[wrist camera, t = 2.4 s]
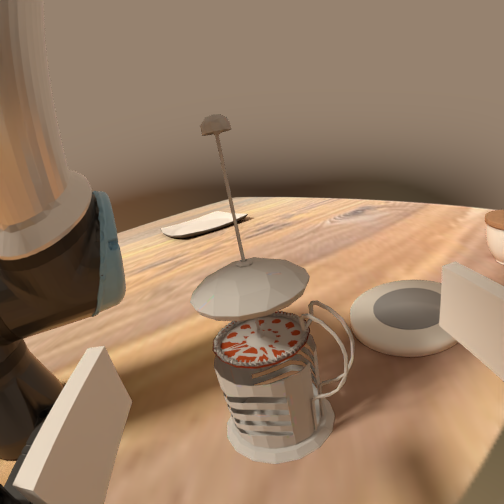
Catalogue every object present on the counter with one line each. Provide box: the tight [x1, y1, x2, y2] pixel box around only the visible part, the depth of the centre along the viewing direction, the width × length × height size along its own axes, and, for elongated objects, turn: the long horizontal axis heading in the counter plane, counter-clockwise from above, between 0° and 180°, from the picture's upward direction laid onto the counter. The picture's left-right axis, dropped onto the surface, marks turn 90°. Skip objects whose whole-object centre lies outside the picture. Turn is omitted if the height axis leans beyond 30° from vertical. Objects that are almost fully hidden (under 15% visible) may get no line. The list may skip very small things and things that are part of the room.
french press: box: [190, 114, 355, 464], centre depth 21 cm, size 10×12×25 cm
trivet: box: [350, 280, 458, 357], centre depth 35 cm, size 16×16×2 cm
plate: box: [161, 211, 248, 238], centre depth 117 cm, size 29×29×3 cm
